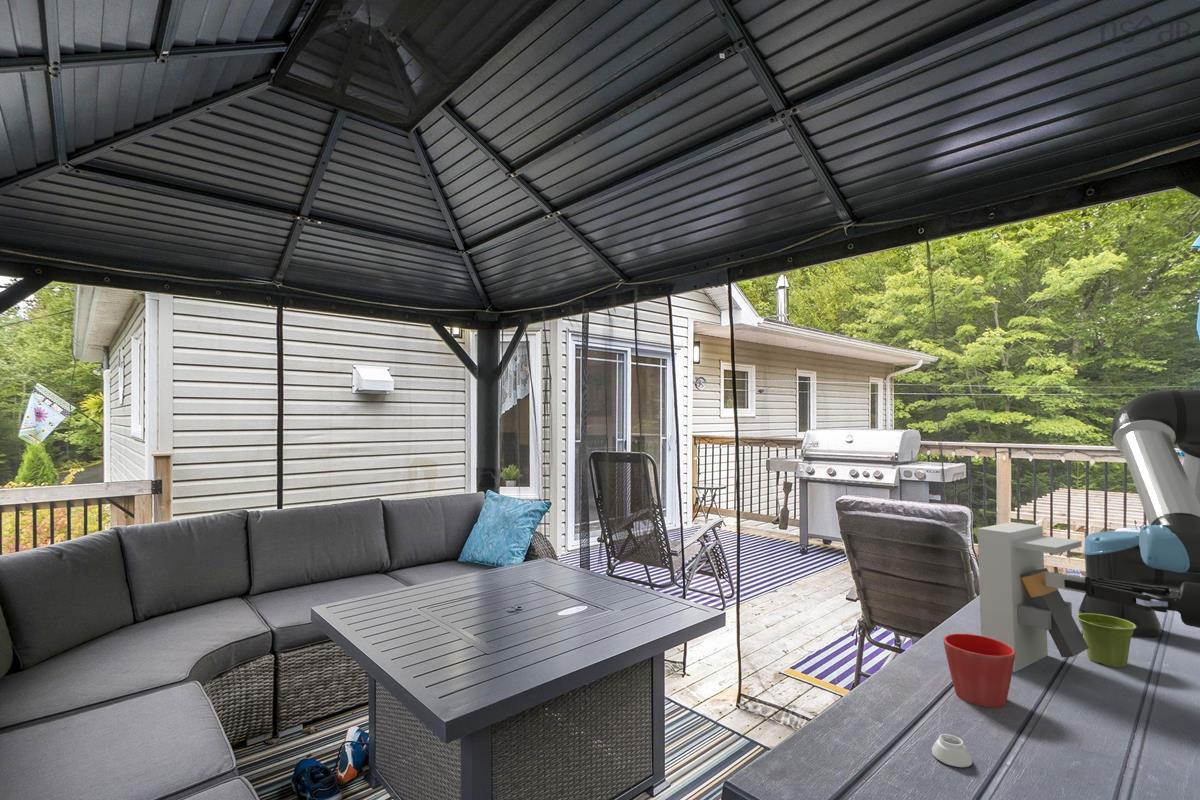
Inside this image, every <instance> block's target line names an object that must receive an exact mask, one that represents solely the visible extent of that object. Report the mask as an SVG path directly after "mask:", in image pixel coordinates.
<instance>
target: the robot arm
mask: <svg viewBox="0 0 1200 800" xmlns="http://www.w3.org/2000/svg"><path fill="white" fill-rule="evenodd" d="M1110 437H1111V439H1112V442H1113V445H1114V447H1115V448H1116V449H1117V450H1118V451H1119V452H1121V453H1122V454H1123V455H1124V459H1125V461H1126V464H1127V467H1128V470H1129V471H1130V472H1129V473H1130V475H1131V478H1132V481H1133V483H1134V486H1135V489H1136V491H1137V494H1138V497H1139V501H1140V502H1141V506H1142V508H1143V509H1142V510H1143V511H1144V514H1145V517H1146V520H1147V522H1148V524H1147V525H1143V526H1142V527H1141V528H1140V530H1139V532H1138V531H1137V532H1136V531H1125V530H1123V531H1122V530H1119V531H1118V530H1117V531H1116V530H1115V531H1099V532H1098V531H1097V532H1093V533H1092V532H1091V533H1090V534H1087V535H1086V537H1085V539H1084V546H1083V547H1084V548H1083V549H1084V550H1083V554H1084V564H1085V565H1084V566H1085V576H1084V577H1082V576H1076V575H1070V574H1063V573H1060V572H1059V573H1058V572H1051V571H1049V572H1046V573H1045V577H1046V586H1049V587H1054V588H1058V590H1059V589H1061V590H1066V591H1071V592H1076V593H1081V594H1082V593H1083V594H1084V595H1083V598H1082V600H1081V603H1080V606H1079V608H1078V614H1084V613H1091V614H1101V615H1107V616H1113V617H1117V618H1121V619H1124V620H1127V621H1130V622H1132V623H1134V624H1135V625H1136V629H1134V631H1133V635H1132V636H1131V637H1134V636H1135V637H1143V638H1144V637H1147V638H1149V637H1159V636H1161V635H1162V627H1161V626H1162V624H1161V622H1160V620H1159V617H1158V616H1157V614H1156V612H1159V613H1168V611H1171V612H1178V614H1179V615H1180V619H1181V622H1182V623H1183V624H1184V625H1186V626H1189V627H1194V628H1198V629H1200V389H1180V390H1176V389H1174V390H1169V389H1165V390H1164V389H1163V390H1155V391H1149V392H1146V393H1143V394H1139V395H1138V396H1136V397H1134V398H1132V399H1131V400H1129V401H1128V402H1126V403H1125V404H1124V405H1122V407H1120V408H1119V410H1118V411H1117V412H1116V414H1115V416H1114V417H1113V419H1112V422H1111V425H1110ZM1174 445H1176V447H1177V449H1178V450H1179V451H1180V452H1182V453H1183V454H1184V458H1183V464H1182V462H1181V460H1180V458H1179V456H1178V453H1177V451H1176V449H1175V447H1174Z"/></svg>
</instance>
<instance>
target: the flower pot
mask: <svg viewBox="0 0 1200 800" xmlns="http://www.w3.org/2000/svg"><path fill="white" fill-rule="evenodd" d="M942 641H943V646H944V651H945V656H946V660H947V665H948V668H949V673H950V676H951V680H952V684H953V687H954V692H955V694H956V696H958V697H959V698H960V699H962V700H963V701H965V702H968V703H971V704H973V705H976V706H980V707H988V708H1001V707H1004V706H1006V703H1007V701H1008V696H1009V691H1010V686H1011V681H1012V675H1013V665H1014V659H1015V651H1014V649H1013V648H1012V647H1010V646H1009V645H1007V644H1005V643H1003V642H1001V641H998V640H995V639H992V638H989V637H984V636H981V635H979V634H973V633H950V634H947V635H945V636H943V639H942Z"/></svg>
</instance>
